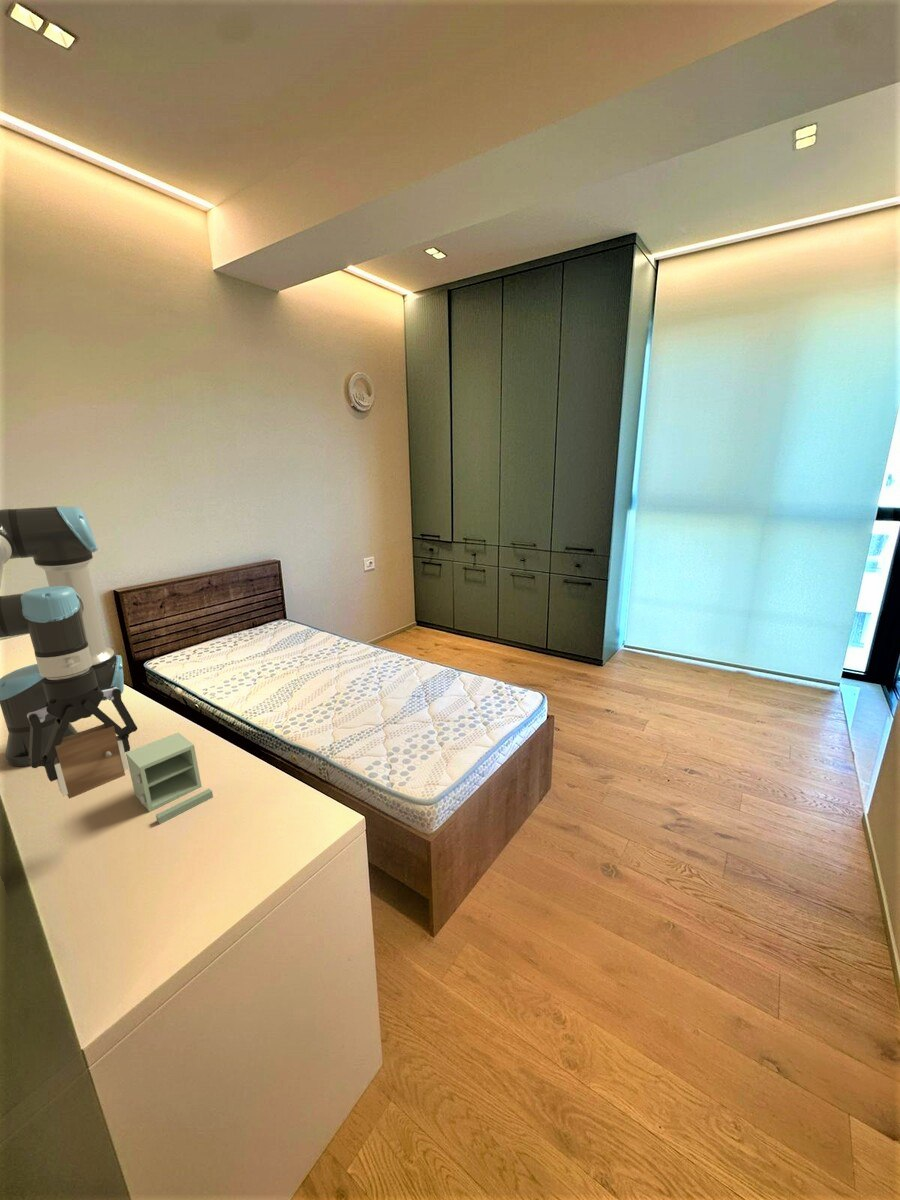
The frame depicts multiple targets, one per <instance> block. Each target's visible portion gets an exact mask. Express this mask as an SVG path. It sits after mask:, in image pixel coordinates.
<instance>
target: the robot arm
mask: <svg viewBox="0 0 900 1200" xmlns="http://www.w3.org/2000/svg"><path fill="white" fill-rule="evenodd" d="M86 516H87V515H86V514H85V512H84V511H83V510H82V509H81V508H80V507H77V506H60V505H59V506H40V507H25V508H5V509H2V508H1V509H0V588H1V586H2V578H3V573H4V565H5V564H6V563H8V561H9V560H13V559H24V558H27V559H28V558H33V562H34V565H35V566H37V567H38V568H40V569H42V570H44V572H45V577H46V580H47V584H48V586H43V587H39V588H33V589H30V590H27V591H25V592H22V593H17V594H14V593H13V594H9V595H6V594H5V595H0V638H1V639H2V638H6V637H7V638H8V637H14V636H20V635H26V634H29V637H30V640H31V644H32V647H33V650H34V651H33V652H34V657H35V661H36V663H35V664H31V665H27V666H24V667H21V668H18V669H15V670H13V671H11V672H9V673H6V674H5V675H2V677H1V678H0V708H1V712H2V715H3V718H4V722H5V725H6V729H7V732H8V736H7V741H6V748H5V758H6V762H7V764H8V765H9V764H10V766H12V765H13V767H27V766H30V767H31V768H32V769H38V767H40V768H41V767H44V769H45V773H46V776H47V779H48V780H49V781H50V782H53V781H56V782H57V785H58V790H59V791H60V794H61V795H62V797H65V796H67V794H68V791H67V788H66V784H65V780H64V777H63V773H62V769H61V766H60V763H59V762H58V760H57V758H56V756H57V752H56V748H55V746H58V745H61V742H62V739H63V738H64V737H67V736H70V735H73V734H76V733H79V732H78V730H77V729H75V727H74V726H73V724H72V723H75V722H77V721H79V720H81V719H86V718H90V717H92V715H93V716H95V717H96V718H97V719H98V720H99V721H101V722H102V724H105V725H106V726H108V727H112V726H114V729H115V733H116V737H117V742H118V747H119V751H120V755H121V759H122V764H123V768H124V772H125V771H127V770H129V766H128V761H127V757H126V752H129V751H131V745H130V743H129V742H130V741H129V737H130V735H131V734H132V733H134V732H135V733H136V731H137V730H138V727H137V724H136V723H135V721H134V719H133V718H132V716H131V715H130V713H129V711H128V709H127V706H125V703H124V702H123V700H122V694H123V692H124V689H125V688H124V686H125V683H124V682H125V680H124V667H123V657H122V655H121V654H115V651H114V650H113V648H111V647H108V646H107V645H106V641H105V636H104V633H103V628H102V623H101V619H100V614H99V611H98V607H97V606H98V605H97V602H96V597H95V594H94V589H93V584H92V580H91V575H90V572H89V568H88V567H89V564H90V563H91V561H92V560H93V559H94V557H93V553H95V552H97V551H98V545H97V542H96V540H95V539H96V538H95V537H94V533H93V531H92V528H91V525H90V524H89V523H90V522H89V520H88V517H86ZM107 700H109V701H111V702H112V705H113V706H114V708H115V710H116V711H117V713H118V715H119V716H120V718H121V720H122V721H123V724H124V725H125V726H124V727H121V726H120V725H119V724H118V723H116V721H114V720H113V719H112V718H111V717H109V716H108V715H107V714H106V713H105V712H104V711H102V710H101V709H100V708H99V706H100V705H101V702H102V701H107Z"/></svg>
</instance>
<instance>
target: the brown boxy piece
mask: <svg viewBox="0 0 900 1200" xmlns="http://www.w3.org/2000/svg"><path fill="white" fill-rule="evenodd" d="M116 736H117V734H116V733H115V729H114V726H112V727H108V726H106V725H105V724H104V723H102V724H100V725H96V726H94V727H91V728H88V729H85V730H83V731H79V732H78V733H76V734H73V735H70V736H67V737H64V738H63V739H62V742H61V745H58V746H55V748H56V752H57V756H56V758H57V760H58V762H59V763H60V766H61V769H62V773H63V777H64V780H65V784H66V788H67V791H68V794H67V795H66V796H67V798H68V799H72V798H75V797H77V796H79V795H82V794H84V793H87V792H89V791H92V790H94V789H95V788H96V789H97V788H98V787H101V786H103V785H106V784H108V783H110V782H112V781H114V780H117V779H120V778H122V777H124V776H126V773H125V771H124V768H123V764H122V759H121V755H120V751H119V747H118V742H117V737H116Z"/></svg>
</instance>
